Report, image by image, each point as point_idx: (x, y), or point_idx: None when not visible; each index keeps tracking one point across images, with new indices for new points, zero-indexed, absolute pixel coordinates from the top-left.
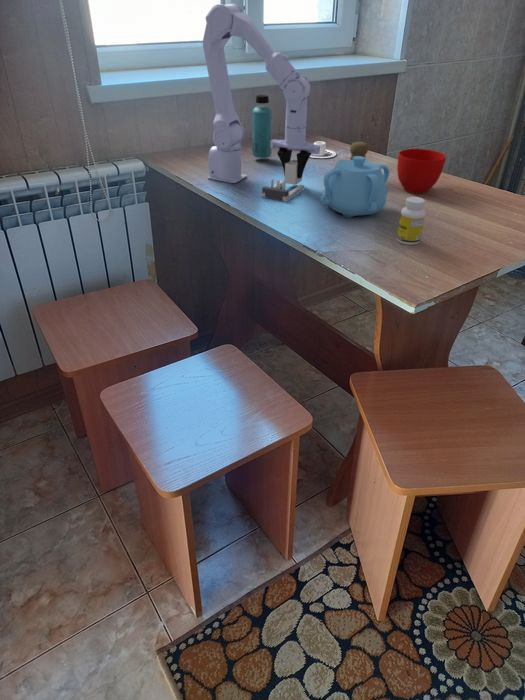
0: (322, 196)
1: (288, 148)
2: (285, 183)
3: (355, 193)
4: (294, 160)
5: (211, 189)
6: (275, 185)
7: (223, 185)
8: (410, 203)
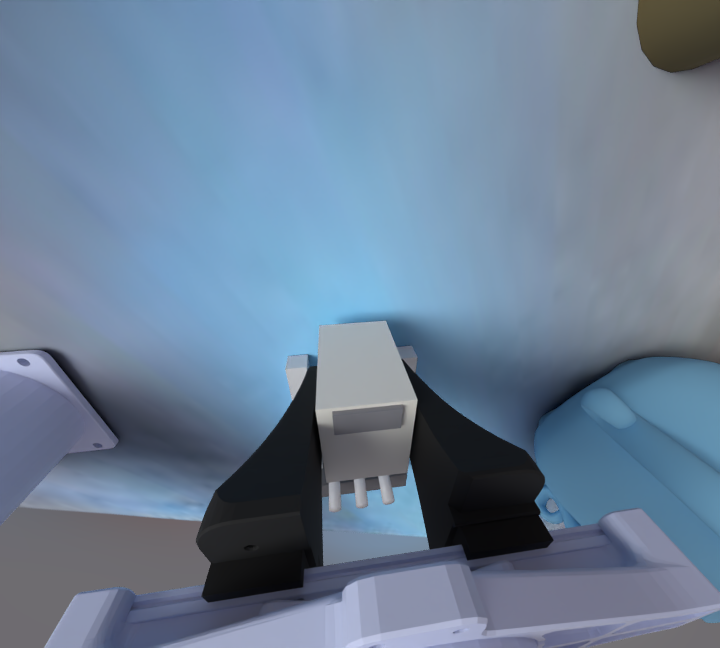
0: (546, 520)
1: (321, 592)
2: (392, 491)
3: None
4: (354, 430)
5: (125, 500)
6: None
7: (109, 465)
8: None
